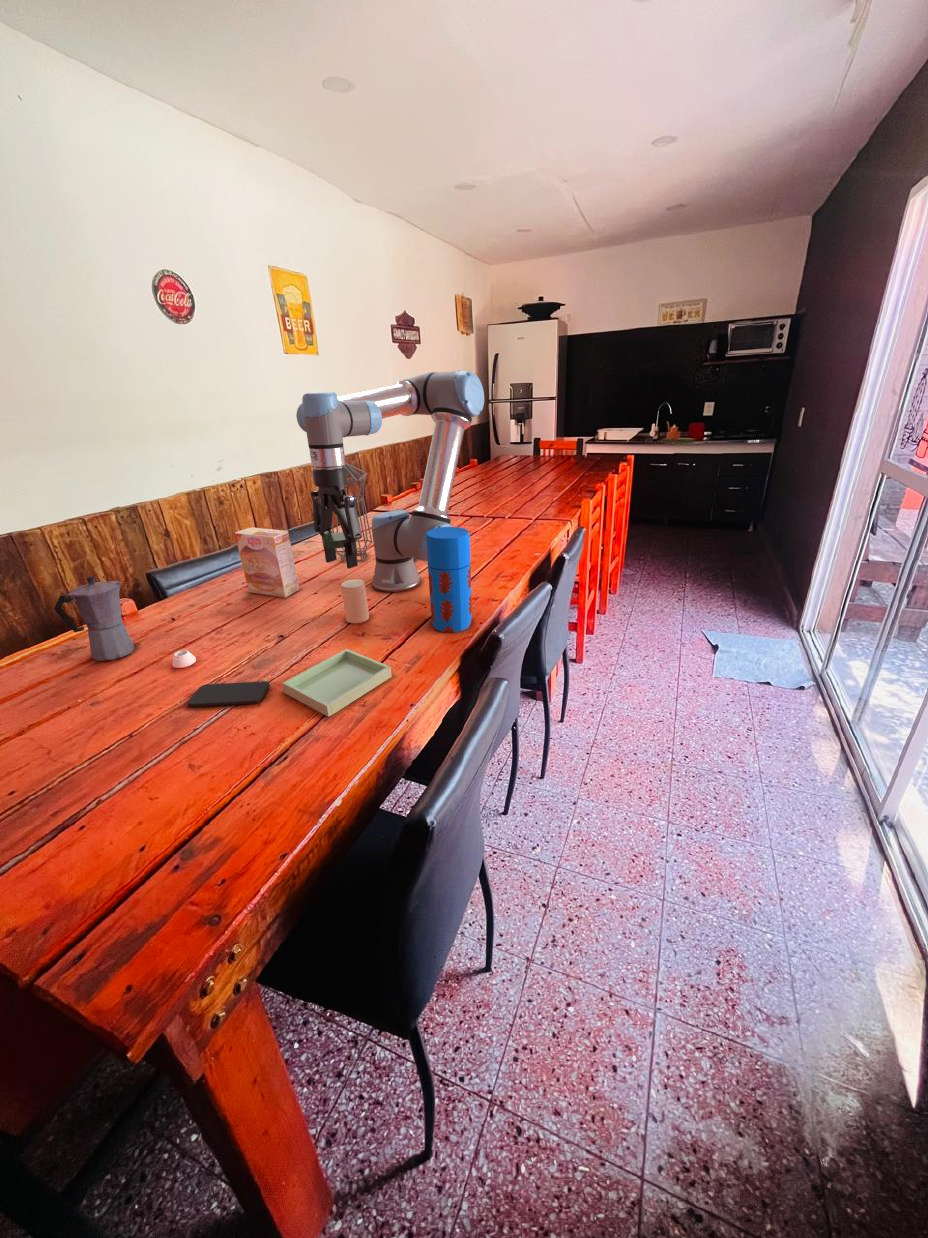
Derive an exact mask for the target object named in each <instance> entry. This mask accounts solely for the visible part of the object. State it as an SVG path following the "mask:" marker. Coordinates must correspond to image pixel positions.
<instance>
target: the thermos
mask: <svg viewBox="0 0 928 1238" xmlns="http://www.w3.org/2000/svg"><path fill="white" fill-rule="evenodd" d="M426 547H427V562H426V563H427V573H428V574H427V575H428V591H429V603H430V605H429V606H430V615H431V623H432V627H433V628H434V629H435V630H437V631H439V632H443V633H457V632H463V631H465V630H467V629H469V628H470V627H471V625H472V620H473V619H472V618H473V617H472V615H473V609H472V608H473V607H472V606H473V603H472V602H473V600H472V599H473V598H472V569H471V568H472V566H471V564H472V563H471V537H470V532H469V529H467V528H464V527H461V526H452V527H440V528H435V529H432V530H429V531H428V532H427V533H426Z"/></svg>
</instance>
